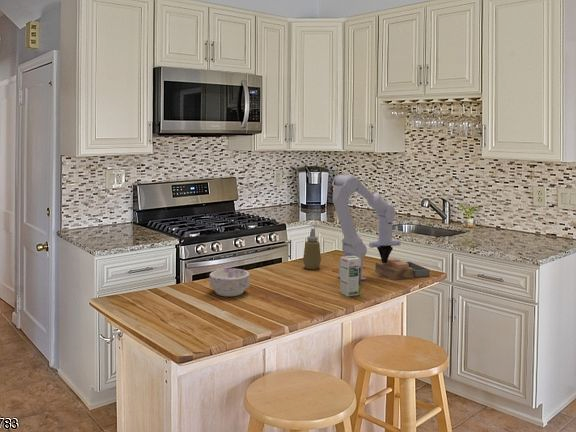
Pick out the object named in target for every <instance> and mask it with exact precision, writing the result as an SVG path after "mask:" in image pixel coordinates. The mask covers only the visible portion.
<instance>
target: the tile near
mask: <svg viewBox="0 0 576 432" xmlns="http://www.w3.org/2000/svg"><path fill="white" fill-rule="evenodd" d="M405 262H406V261H403V260H401V261H399V262H392V266H393V267H395V268H397V269H403V268H409V264H408V263H405Z"/></svg>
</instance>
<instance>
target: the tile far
mask: <svg viewBox="0 0 576 432" xmlns="http://www.w3.org/2000/svg"><path fill="white" fill-rule="evenodd" d="M399 261H402V260H400V259H398V258H395V257H393V258H388V260H387V263H386V264H388V265H391V266H392V262H399Z"/></svg>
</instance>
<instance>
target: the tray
mask: <svg viewBox="0 0 576 432" xmlns="http://www.w3.org/2000/svg"><path fill="white" fill-rule="evenodd" d="M404 262H405V263H408V264H409V267H411V268H413V269H414V278H413V279H418V278H425V277H430V269H429V268H426V267H424V266H421V265H420V264H417V263H414V262H413V261H412V262H411V261H404Z"/></svg>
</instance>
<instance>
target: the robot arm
mask: <svg viewBox="0 0 576 432" xmlns="http://www.w3.org/2000/svg"><path fill="white" fill-rule="evenodd" d="M331 186H332V187H333V189H332V190H333V192H332V202H333V206H334V208H335V212H336V214H337V215H336V216H337V218H338V222H339V224H340V228H341V232H342V234H343V238H342V240H341V242H342V243H341V244H342V245H341V246H342V252H343V253H344V257H346V256H357V257H359V258H361V281H363V280H367V278H366V277H364V276H363V263H364V262H363V261H364V257H365V256H366V255H367V252H368V251H367V250H368V249H367V246H366V244H365V243H364V242H363V240H362V238H361V237H360V236H359V235H358V233H357V229H356V226H355V222H354V219H353V216H352V212H351V210H350V206H349V203H348V200H349V199H350V198H351V197H352V195H353V194H354V193H355V192H356V193H358V194H359V195H360V196H362V198H364V199H365V200H367V205H368V206H369V207H370V208H371V209H373V210H374V211H375V212H376V215H377V216H378V217H379V218H378V237H377V238H378V241H371V242H369V243H368V247H369V248H371V249H373V248H377V251H378V253H379V256H380V260H381V262H382V263H387V260H388V259H389V257H390V254H391V253H392V251H393V247H395V246H396V247H397V246H398V247H401V243H402V241H401V240H393V222H394V220H395V219H394V218H395V216H396V214H397V211H396V209H395V206H393V205H391V204H389V203H388V201H387V200H385V199H383V197H382V195H381V194H379V193H373V192H371V191H370V189H368V188H367V186H365V185H364V184H363V182H362V181H361V180H360V179H359V178H357V177H356V176H354V175H344V174H342V173H341V174H337V175H336V176H335V177H334V179H333V181H332V183H331ZM340 276H341V258H340V259H339V262H338V276H337V277H338V278H340Z"/></svg>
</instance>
